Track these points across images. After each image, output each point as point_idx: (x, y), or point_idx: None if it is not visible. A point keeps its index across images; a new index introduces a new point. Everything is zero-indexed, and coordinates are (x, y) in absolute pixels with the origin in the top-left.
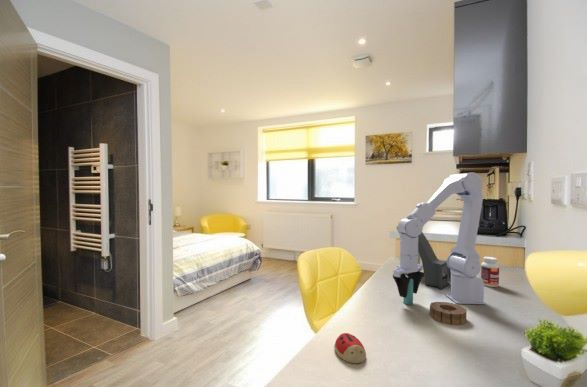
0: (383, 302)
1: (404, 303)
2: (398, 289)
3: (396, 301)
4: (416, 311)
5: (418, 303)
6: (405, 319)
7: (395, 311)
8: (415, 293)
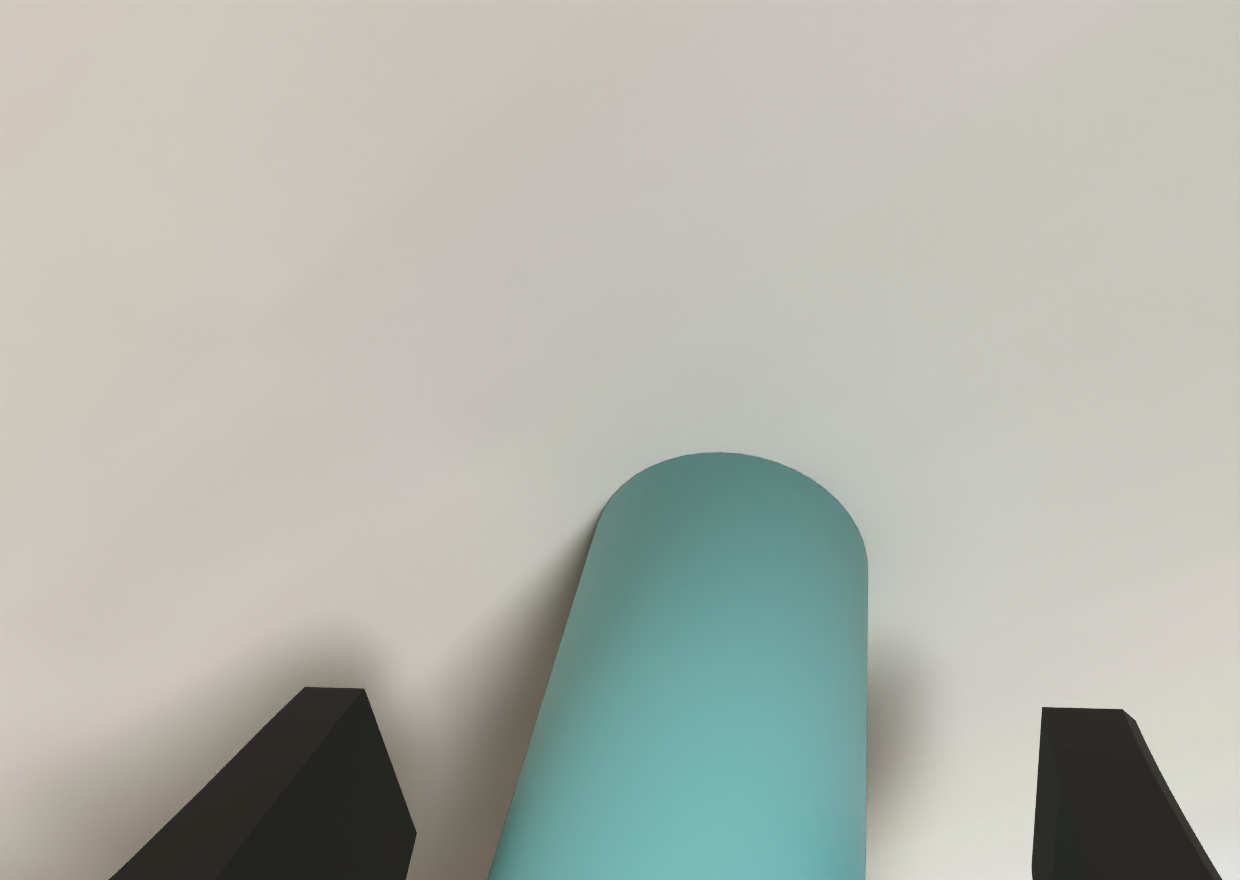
0: (53, 116)
1: (595, 535)
2: (140, 868)
3: (530, 291)
4: (475, 856)
5: (985, 708)
6: (17, 875)
7: (36, 641)
8: (1033, 864)
